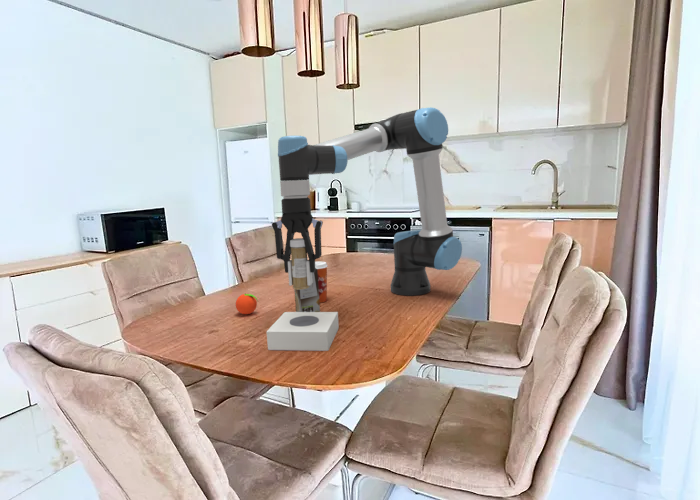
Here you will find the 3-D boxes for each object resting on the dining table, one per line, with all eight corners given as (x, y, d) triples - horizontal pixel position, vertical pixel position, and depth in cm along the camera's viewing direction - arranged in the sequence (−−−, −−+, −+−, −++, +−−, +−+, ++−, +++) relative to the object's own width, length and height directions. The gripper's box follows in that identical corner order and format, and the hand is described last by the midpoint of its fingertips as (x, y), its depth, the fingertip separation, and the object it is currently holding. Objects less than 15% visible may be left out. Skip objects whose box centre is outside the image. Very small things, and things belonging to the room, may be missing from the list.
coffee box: (321, 318, 129) (318, 269, 126) (301, 321, 127) (298, 271, 124) (313, 310, 137) (310, 264, 135) (295, 313, 135) (291, 266, 133)
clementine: (264, 311, 139) (262, 291, 138) (254, 318, 133) (252, 296, 132) (243, 310, 142) (241, 290, 140) (232, 316, 135) (230, 296, 134)
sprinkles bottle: (294, 286, 113) (290, 238, 111) (310, 285, 113) (307, 237, 111) (291, 290, 108) (288, 240, 106) (308, 290, 108) (305, 239, 106)
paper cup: (324, 304, 144) (322, 265, 141) (305, 303, 146) (302, 265, 144) (332, 298, 151) (330, 261, 149) (313, 297, 154) (311, 260, 151)
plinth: (338, 328, 120) (337, 311, 119) (328, 350, 104) (327, 331, 103) (286, 328, 122) (284, 311, 121) (268, 349, 106) (266, 330, 106)
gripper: (331, 195, 109) (335, 280, 113) (268, 197, 111) (274, 281, 115) (325, 196, 102) (329, 287, 105) (258, 199, 104) (265, 287, 108)
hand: (300, 284), depth 110 cm, fingers closed on sprinkles bottle, 4 cm apart
